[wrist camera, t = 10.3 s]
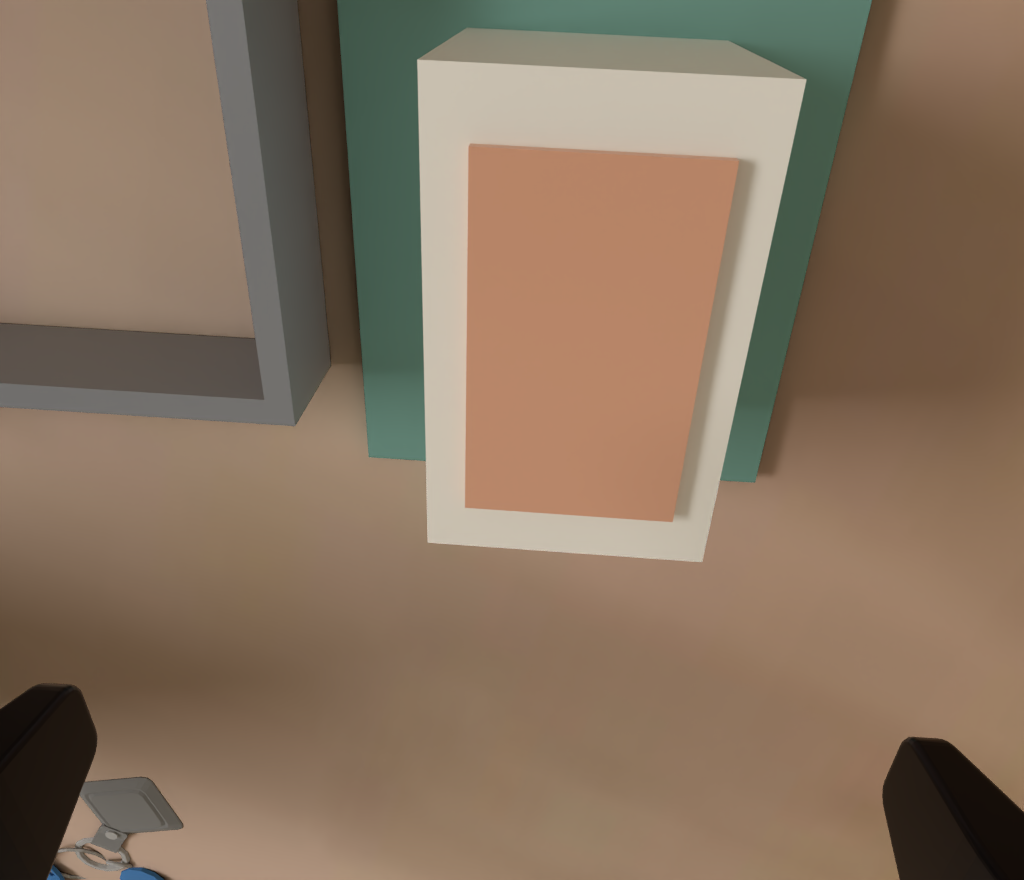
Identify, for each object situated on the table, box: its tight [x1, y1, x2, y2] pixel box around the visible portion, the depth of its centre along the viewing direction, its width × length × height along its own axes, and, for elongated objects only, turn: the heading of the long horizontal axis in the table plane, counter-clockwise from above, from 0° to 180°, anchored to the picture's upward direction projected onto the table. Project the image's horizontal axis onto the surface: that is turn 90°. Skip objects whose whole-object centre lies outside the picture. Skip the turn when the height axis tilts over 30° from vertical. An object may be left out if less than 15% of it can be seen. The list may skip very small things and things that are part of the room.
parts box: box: [417, 28, 807, 562], centre depth 15 cm, size 5×8×6 cm, turn 178°
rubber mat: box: [337, 0, 872, 483], centre depth 17 cm, size 10×12×1 cm
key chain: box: [47, 777, 183, 880], centre depth 33 cm, size 14×8×1 cm, turn 140°
